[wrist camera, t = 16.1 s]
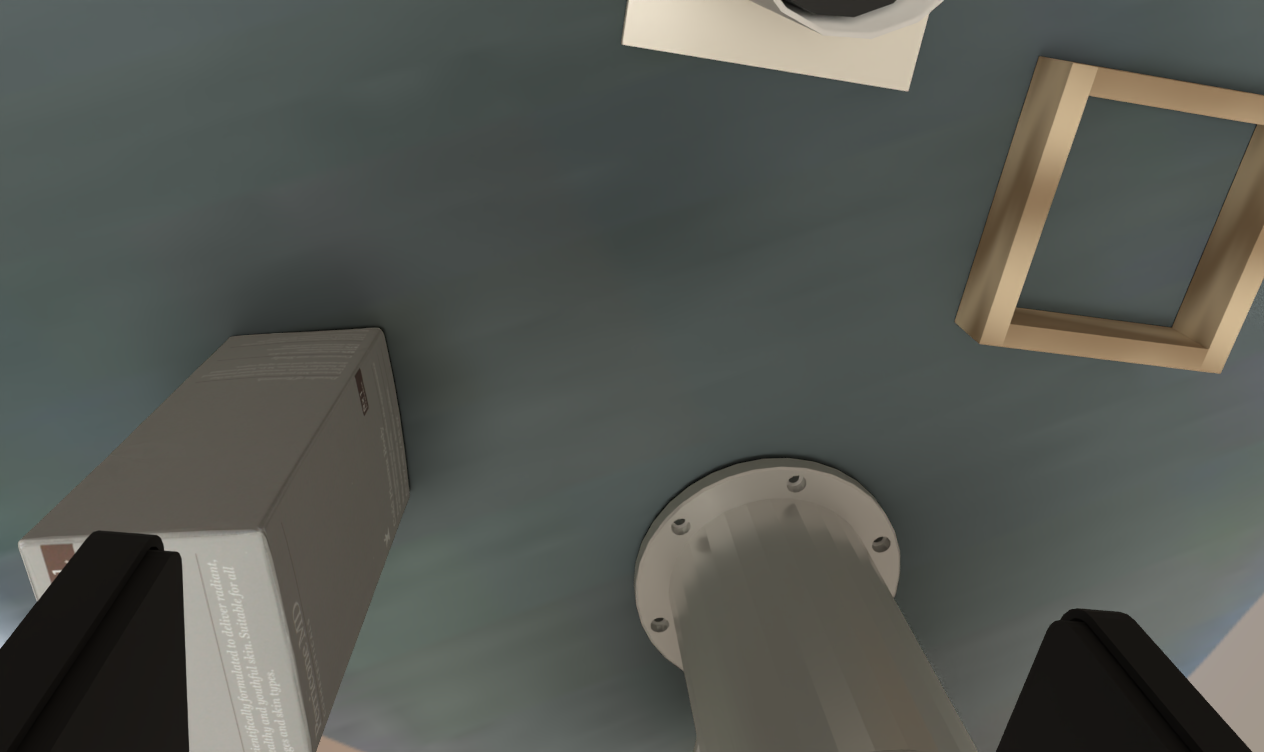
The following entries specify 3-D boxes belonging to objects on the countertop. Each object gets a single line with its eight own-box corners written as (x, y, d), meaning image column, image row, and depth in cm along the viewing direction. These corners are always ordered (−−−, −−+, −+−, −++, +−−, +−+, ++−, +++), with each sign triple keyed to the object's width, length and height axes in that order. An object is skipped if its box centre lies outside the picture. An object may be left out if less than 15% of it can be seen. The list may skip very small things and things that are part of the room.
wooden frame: (1183, 351, 42) (1220, 373, 39) (954, 321, 40) (979, 344, 38) (1291, 100, 37) (1339, 109, 35) (1039, 56, 36) (1072, 63, 33)
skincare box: (413, 492, 41) (345, 780, 27) (248, 504, 41) (88, 805, 26) (386, 313, 38) (290, 533, 23) (204, 324, 37) (-8, 557, 23)
